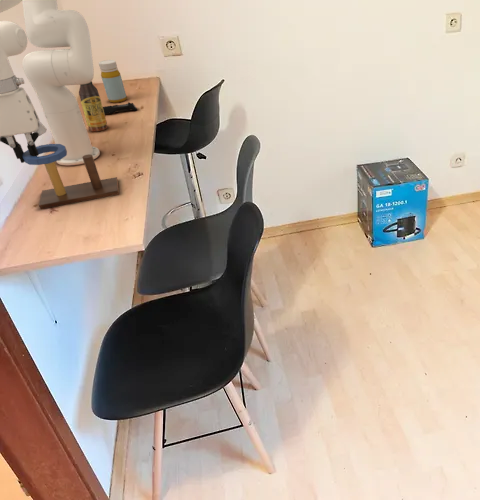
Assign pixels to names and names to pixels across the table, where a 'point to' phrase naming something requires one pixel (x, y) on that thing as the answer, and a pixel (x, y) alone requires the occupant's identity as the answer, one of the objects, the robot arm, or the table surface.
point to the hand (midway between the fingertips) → (29, 159)
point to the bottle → (112, 81)
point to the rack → (77, 186)
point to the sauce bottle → (92, 107)
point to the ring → (39, 160)
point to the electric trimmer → (119, 108)
